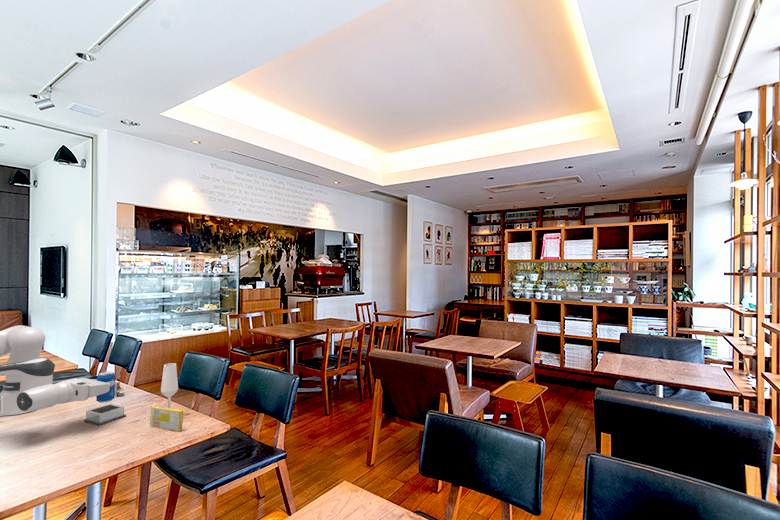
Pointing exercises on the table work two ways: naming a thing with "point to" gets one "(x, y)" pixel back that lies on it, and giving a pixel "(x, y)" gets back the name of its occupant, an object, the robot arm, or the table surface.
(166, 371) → the champagne flute
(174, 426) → the candy box
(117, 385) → the architectural model
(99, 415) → the can holder
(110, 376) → the beverage can
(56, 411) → the table surface
